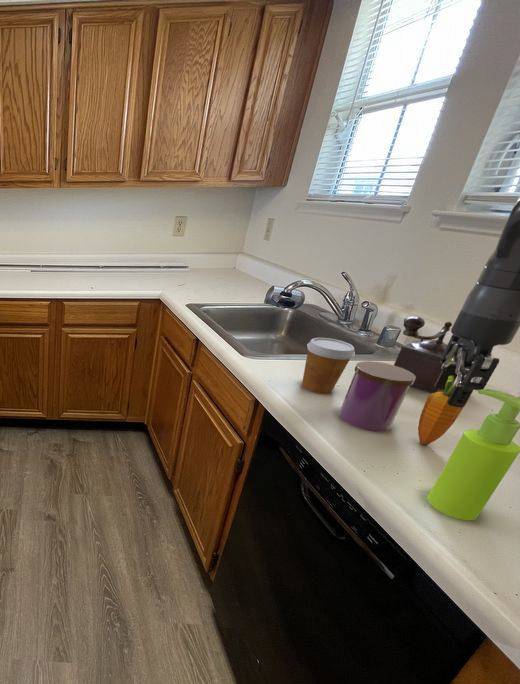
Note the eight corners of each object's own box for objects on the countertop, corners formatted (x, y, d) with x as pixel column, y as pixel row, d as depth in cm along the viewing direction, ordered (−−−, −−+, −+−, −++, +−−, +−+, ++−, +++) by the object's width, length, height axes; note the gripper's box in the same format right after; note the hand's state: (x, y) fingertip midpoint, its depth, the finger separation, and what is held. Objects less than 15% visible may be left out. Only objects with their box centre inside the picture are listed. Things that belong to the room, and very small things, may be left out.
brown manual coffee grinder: (401, 370, 115) (429, 306, 107) (453, 386, 106) (488, 318, 98) (373, 382, 108) (402, 315, 100) (427, 400, 99) (462, 329, 91)
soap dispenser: (439, 489, 71) (499, 385, 62) (486, 519, 65) (560, 408, 56) (410, 492, 70) (467, 387, 61) (456, 523, 64) (526, 411, 55)
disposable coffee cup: (298, 376, 110) (312, 334, 105) (341, 388, 105) (358, 343, 99) (290, 389, 104) (305, 344, 99) (336, 401, 98) (354, 355, 93)
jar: (386, 417, 92) (409, 367, 87) (395, 438, 85) (421, 385, 79) (334, 406, 96) (353, 357, 91) (339, 425, 89) (359, 374, 84)
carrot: (408, 435, 86) (441, 369, 79) (441, 445, 82) (478, 378, 76) (404, 444, 83) (438, 376, 76) (438, 455, 79) (476, 386, 73)
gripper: (544, 328, 63) (490, 419, 71) (505, 305, 75) (461, 386, 82) (478, 319, 67) (432, 408, 74) (449, 299, 78) (412, 377, 85)
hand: (447, 396), depth 78 cm, fingers open, 7 cm apart
